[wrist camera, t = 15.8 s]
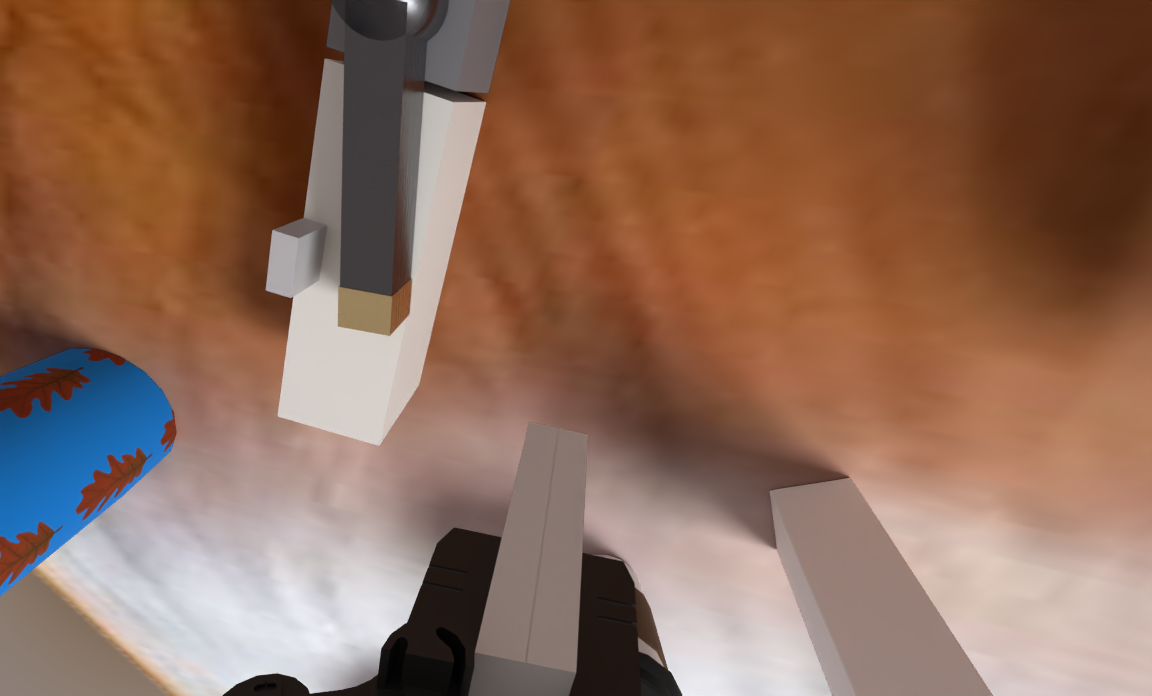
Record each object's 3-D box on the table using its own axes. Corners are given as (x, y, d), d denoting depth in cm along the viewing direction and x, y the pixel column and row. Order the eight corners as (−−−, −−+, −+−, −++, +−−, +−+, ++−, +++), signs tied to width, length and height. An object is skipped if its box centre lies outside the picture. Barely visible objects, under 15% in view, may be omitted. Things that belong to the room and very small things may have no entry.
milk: (768, 489, 44) (906, 821, 24) (852, 475, 43) (1070, 808, 23) (776, 552, 46) (909, 905, 26) (856, 540, 45) (1058, 896, 25)
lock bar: (348, 302, 31) (322, 323, 28) (357, -70, 24) (324, -93, 21) (424, 316, 31) (405, 338, 28) (453, -51, 24) (433, -71, 21)
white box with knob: (515, -23, 32) (473, -80, 22) (419, 384, 42) (359, 476, 32) (407, -62, 31) (313, -139, 21) (336, 359, 41) (248, 444, 31)
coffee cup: (507, 566, 48) (478, 705, 37) (620, 508, 45) (625, 640, 34) (582, 648, 51) (576, 799, 40) (691, 599, 48) (717, 746, 37)
